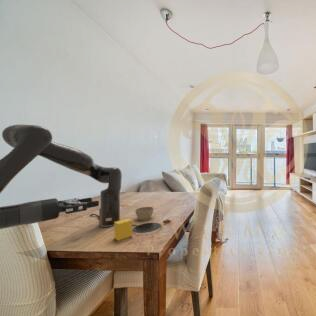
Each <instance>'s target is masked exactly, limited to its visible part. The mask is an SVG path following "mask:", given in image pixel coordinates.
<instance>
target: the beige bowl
mask: <svg viewBox="0 0 316 316" xmlns="http://www.w3.org/2000/svg"><path fill="white" fill-rule="evenodd" d="M153 212H154V207H153V206H141V207H138V208H135V215H136V217H137V219H138V221H147V220H149V219H151V218H152V215H153Z"/></svg>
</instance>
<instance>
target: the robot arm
mask: <svg viewBox="0 0 316 316" xmlns="http://www.w3.org/2000/svg"><path fill="white" fill-rule="evenodd" d="M1 137H2V140H3V141H4V142H5V143H6V144H7V145H8V146H10V147H11V148H13V149H11V150H10V151H9V152H8V153H7V154H6V155H5V156H3V157H2V158H1V159H0V194H2V192H3V191H4V190H5V189H6V188H7V186H8V185H10V183H11V182H12V180H14V178H15V177H16V176H17V175H18V174H19V173H20V172H21V171H22V170H23V169H24V168H26V167H27V166H28V165H29V164H30V163H31V162H32V161H33V160H34V159H36V158H37V157H42V158H44V159H47V160H49V161H51V162H53V163H55V164H57V165H59V166H62V167H64V168H66V169H69V170H71V171H74V172H76V173H80V174H82V175H85V176H88V177H90V178H92V179H93V180H95V181H97V182H99V183H101V184H107V185H108V186H107V187H106V188H105V189H102V190H101V191H100V193H99V199H100V201H99V200H93V198H92V197H85V198H74V197H73V198H71V199H70V198H69V199H64V200H58V199H57V198H56V197H53V198H48V199H39V200H33V201H27V202H22V203H18V204H10V205H2V206H0V230H3V229H8V228H13V227H19V226H24V225H25V226H27V225H32V224H36V223H42V222H46V221H52V220H56V219H59V216H60V213H64V214H65V215H69V214H75V213H79V212H86V211H87V210H88V209H90V208H91V209H92V208H96V207H99V206H100V208H99V209H98V210H99V211H98V213H99V214H97V213H91V214H90V215H89V217H92V216H96V217H97V218H98V219H99V220H98V221H99V226H100V228H111V227H114V222H116V221H120V220H121V189H122V179H123V178H122V177H123V175H122V170H121V169H120V168H119V167H111V166H110V167H109V166H108V167H107V166H101V165H99V164H96V163H95V162H94V159H93V158H92V156H90V155H89V154H88V153H85V152H84V151H82V150H79V149H77V148H75V147H71V146H68V145H65V144H62V143H58V142H55V141H53V134H52V132H51V130H50V129H48V128H46V127H44V126H41V125H37V124H13V125H9V126H7V127H5V128H4V129H3V131H2V132H1Z"/></svg>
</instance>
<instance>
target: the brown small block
mask: <svg viewBox="0 0 316 316" xmlns="http://www.w3.org/2000/svg"><path fill="white" fill-rule="evenodd" d="M171 221H172V220H170V219H168V218H167V219H165V220H164V219H163V220H162V222H163V223H164V224H169V223H171Z"/></svg>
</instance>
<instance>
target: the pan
mask: <svg viewBox="0 0 316 316" xmlns="http://www.w3.org/2000/svg"><path fill="white" fill-rule="evenodd" d="M160 228H162V224H161V223H160V222H146V223H141V224H135V223H132V233H137V234H146V233H151V232H154V231H157V230H159V229H160Z"/></svg>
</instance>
